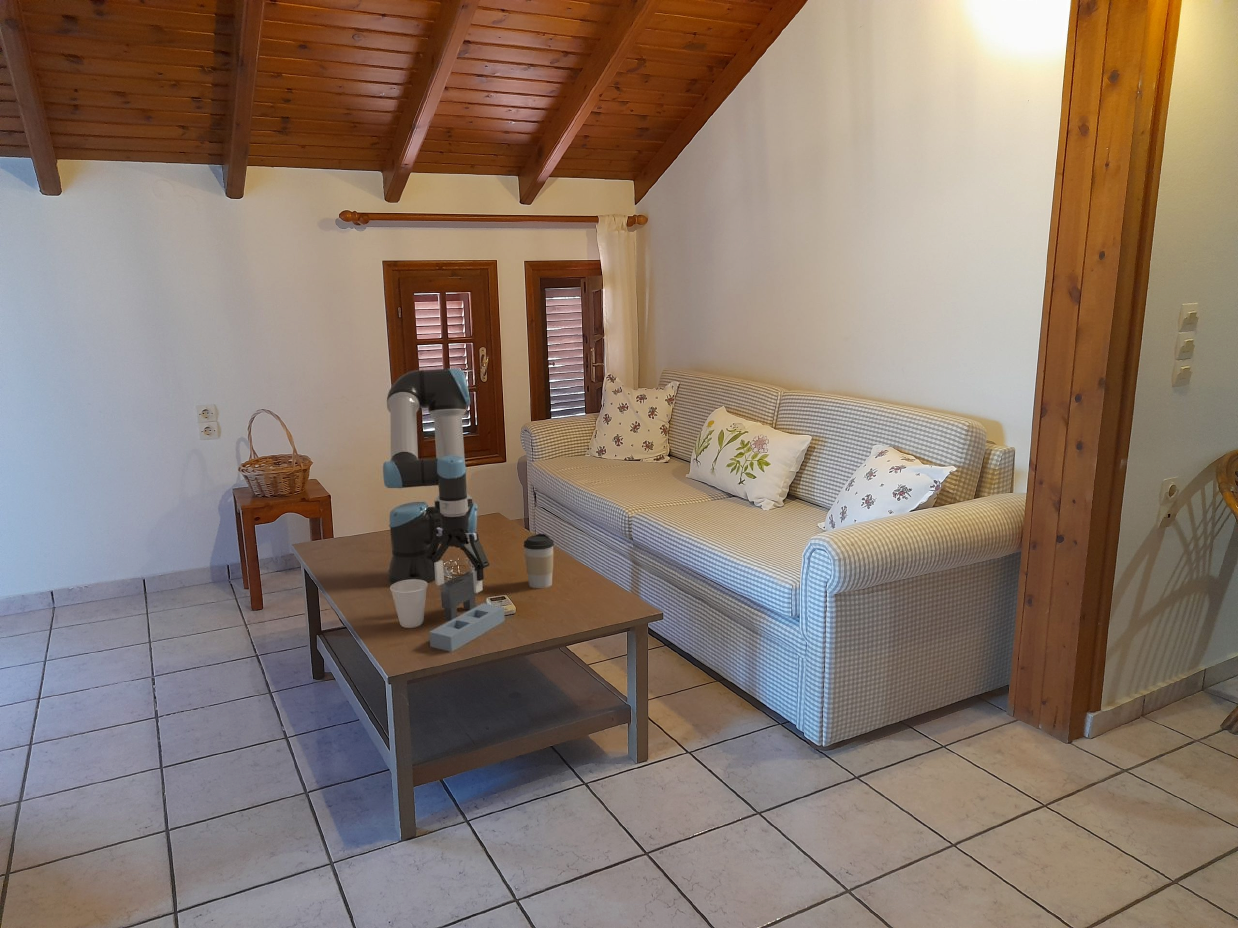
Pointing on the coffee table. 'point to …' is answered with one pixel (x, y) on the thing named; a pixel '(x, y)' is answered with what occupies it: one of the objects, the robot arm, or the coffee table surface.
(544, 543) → the coffee cup
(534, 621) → the coffee table surface
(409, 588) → the cup
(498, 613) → the grey block with hole
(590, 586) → the coffee table surface
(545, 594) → the coffee table surface
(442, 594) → the clip
